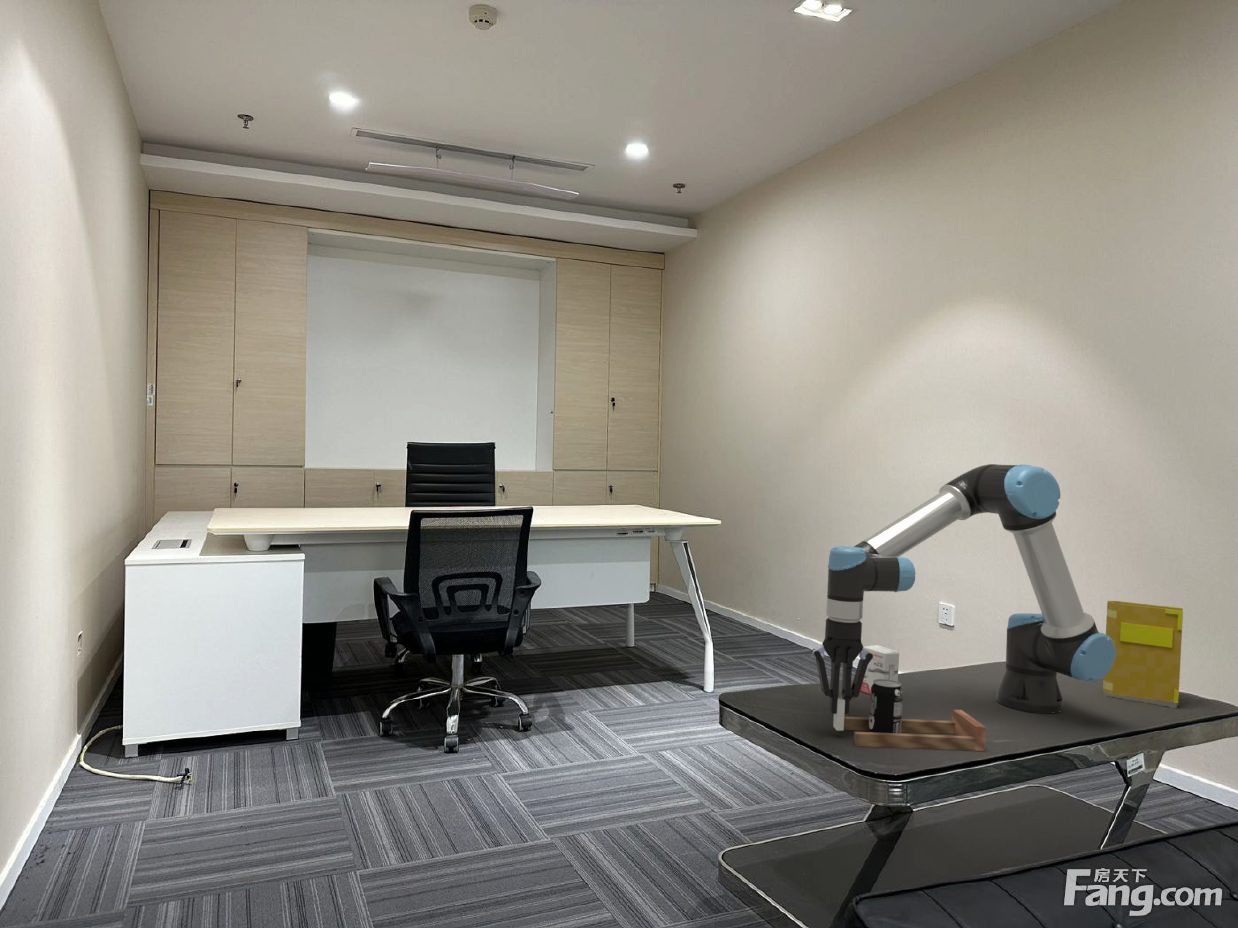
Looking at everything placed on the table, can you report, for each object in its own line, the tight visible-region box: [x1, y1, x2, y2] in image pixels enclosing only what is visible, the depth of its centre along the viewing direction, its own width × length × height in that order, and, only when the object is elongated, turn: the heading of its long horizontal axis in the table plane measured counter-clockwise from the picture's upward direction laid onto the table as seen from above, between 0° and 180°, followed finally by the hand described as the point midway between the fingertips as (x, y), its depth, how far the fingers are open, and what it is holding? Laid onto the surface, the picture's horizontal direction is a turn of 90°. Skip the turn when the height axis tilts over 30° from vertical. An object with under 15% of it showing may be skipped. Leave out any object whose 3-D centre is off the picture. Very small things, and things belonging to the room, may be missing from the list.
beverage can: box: [868, 679, 904, 734], centre depth 184 cm, size 7×7×12 cm
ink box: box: [860, 644, 900, 696], centre depth 219 cm, size 9×5×12 cm, turn 27°
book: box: [1102, 600, 1184, 704], centre depth 226 cm, size 17×7×25 cm, turn 58°
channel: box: [844, 709, 987, 752], centre depth 184 cm, size 27×12×5 cm, turn 91°
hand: (838, 728), depth 184 cm, fingers closed
